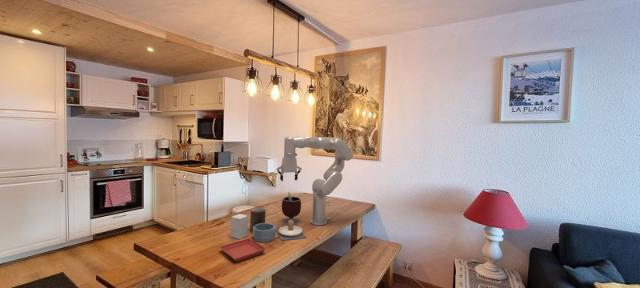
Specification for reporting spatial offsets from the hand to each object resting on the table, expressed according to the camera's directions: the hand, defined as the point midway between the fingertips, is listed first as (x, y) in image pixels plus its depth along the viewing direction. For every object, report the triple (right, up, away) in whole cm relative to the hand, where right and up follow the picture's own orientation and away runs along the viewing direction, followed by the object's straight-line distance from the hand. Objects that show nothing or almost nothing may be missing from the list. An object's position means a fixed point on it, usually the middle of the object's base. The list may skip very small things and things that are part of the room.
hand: (288, 180), depth 181 cm
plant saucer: (-20, -34, -38) cm, 55 cm away
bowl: (-13, -33, -18) cm, 39 cm away
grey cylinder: (-20, -32, -5) cm, 38 cm away
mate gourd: (0, -32, +13) cm, 34 cm away
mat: (+2, -33, -9) cm, 34 cm away
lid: (+2, -32, -10) cm, 34 cm away
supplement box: (-29, -32, -16) cm, 46 cm away
